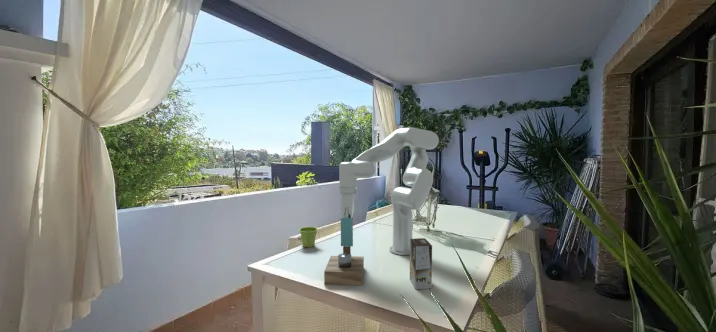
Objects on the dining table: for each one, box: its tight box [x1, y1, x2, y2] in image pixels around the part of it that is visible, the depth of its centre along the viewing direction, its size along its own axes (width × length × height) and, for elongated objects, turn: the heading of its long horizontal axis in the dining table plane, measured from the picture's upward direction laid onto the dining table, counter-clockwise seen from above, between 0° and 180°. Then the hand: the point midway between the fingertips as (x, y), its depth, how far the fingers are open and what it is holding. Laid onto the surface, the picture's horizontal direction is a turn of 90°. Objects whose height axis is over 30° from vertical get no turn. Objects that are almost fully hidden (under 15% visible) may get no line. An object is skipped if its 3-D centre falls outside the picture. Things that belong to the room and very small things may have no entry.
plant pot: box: [298, 226, 319, 248], centre depth 159 cm, size 9×9×9 cm
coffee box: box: [409, 237, 433, 290], centre depth 115 cm, size 9×6×16 cm
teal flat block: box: [340, 217, 354, 247], centre depth 128 cm, size 12×5×1 cm
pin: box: [337, 252, 352, 268], centre depth 120 cm, size 5×5×9 cm
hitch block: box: [323, 246, 365, 286], centre depth 122 cm, size 16×14×10 cm
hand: (348, 231), depth 134 cm, fingers closed
